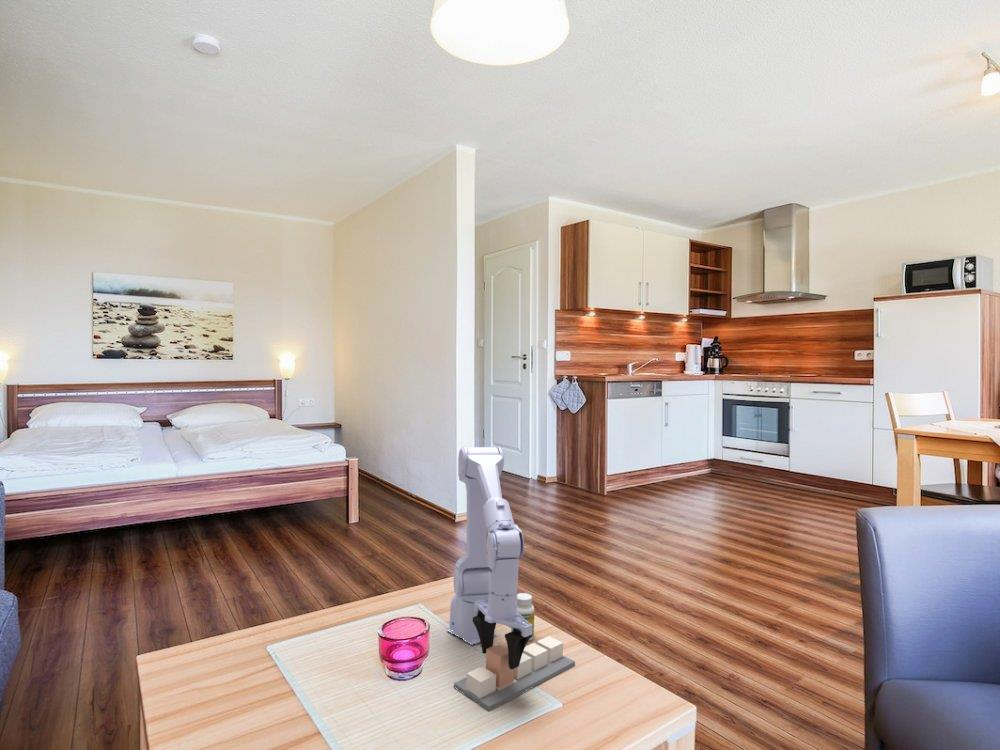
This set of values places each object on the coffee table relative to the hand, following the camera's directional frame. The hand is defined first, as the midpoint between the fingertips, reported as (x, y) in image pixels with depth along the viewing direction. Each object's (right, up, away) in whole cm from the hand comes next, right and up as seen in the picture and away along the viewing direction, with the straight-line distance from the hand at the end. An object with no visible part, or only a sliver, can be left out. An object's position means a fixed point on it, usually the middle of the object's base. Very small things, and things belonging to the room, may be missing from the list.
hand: (500, 659), depth 110 cm
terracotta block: (0, -4, 0) cm, 4 cm away
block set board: (+3, -5, +3) cm, 7 cm away
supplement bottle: (+5, -5, +20) cm, 22 cm away
